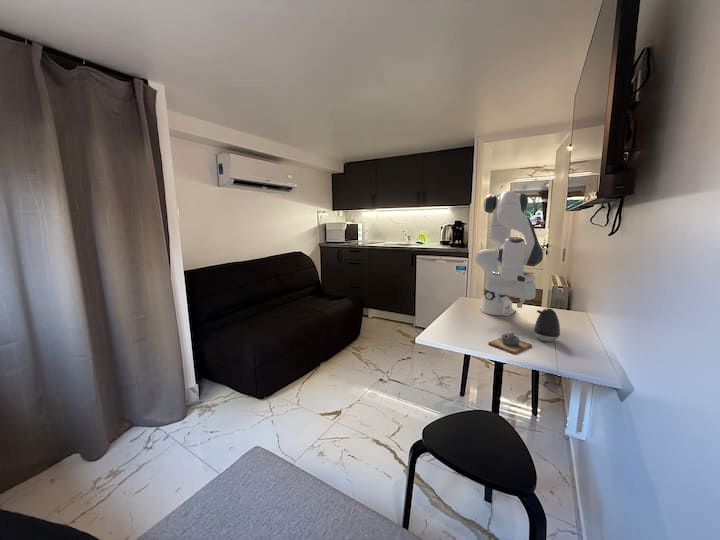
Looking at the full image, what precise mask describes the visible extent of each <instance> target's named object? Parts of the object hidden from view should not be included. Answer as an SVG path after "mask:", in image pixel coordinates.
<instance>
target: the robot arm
mask: <svg viewBox="0 0 720 540" xmlns="http://www.w3.org/2000/svg"><path fill="white" fill-rule="evenodd" d="M528 198H529V197H528V195H527V194H525V193H522V192H519V193H517V192H515V191H512V190H511V191H510V190H509V191H504V192H501V193H489V194H487V195H485V198H484V200H483V203H482V206H483V210H484V212H485V213H488V214H491V220H490V225H489V235H488V236H489V239H490V240H491V242H493V243H495V244H496V245H495V246H496V248H486V249H485V248H484V249H480V250H478V251H477V252H476V254H475V256H474V257H475V258H474V259H475V263H476V264H477V265H478V266H479V267H480V268H481V270H482V271H483V273H484V277H485V281H484V282H485V287H484V290H483V295H482V298H481V303H480V306H479V307H478V308H479V310H480V312H482V314H483V313H484V314H487V315H490V316H491V315H492V316H504V317H505V316H507V317H508V316H509V317H510V315H512V314H513V313H515V312H516V311H517V308H519V309H521V308H523V304H524V303H525V302H526V301H531V300H534V299H535V298H536V293H537V292H536V291H537V287H536V284H535V282H534V281H536V276H534V274H533V275H532V274H531V273H529V272H526V271H524V269H525V267H524V266H526V267H527V266H528V267H536V266H538V265H539V264H540V263H541V262H542V261H543V258H544V251H543V247H542V246H541V244H540V242H539V240H538V237H537V234H536V230H535V228H534V225H533V222H532V220H531V218H530V217H528V216H527V215H525V214H524V212H525V211H526V210H527V207H528V206H529V199H528ZM512 230H515V231H516V232H519V233H521V234H522V235H523V237H524V239H523V238H522V237H517V236H511V233H512ZM499 268H500V271H499ZM508 296H509V297H508ZM510 296H511V297H513V298H519V301H520V302H518V303H516V308H514V307H513V301H512V300H511V299H510Z"/></svg>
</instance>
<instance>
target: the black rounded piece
mask: <svg viewBox="0 0 720 540" xmlns="http://www.w3.org/2000/svg"><path fill="white" fill-rule="evenodd" d="M536 313H538V314H539V315H538V317H537V318H536V320H535V321H536V322H535V325H534V329H533V330H534V333H535V336H536V338H537V339H539V340H540V341H541V342H546V343H552V342H556V341H557V340H558V339H559V337H560V335H561V324H560V320H559V318H558V315H557V313H556V311H555V310H554V309H552V308H544V309H543V310H538V309H537V310H536Z"/></svg>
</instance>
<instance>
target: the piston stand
mask: <svg viewBox="0 0 720 540" xmlns="http://www.w3.org/2000/svg"><path fill="white" fill-rule="evenodd" d="M506 334H507V338H509V339H514V335H515V332H513V331H507V333H506ZM488 345H489V346H491V347H494V348H497V349H499V350H502V351H505V352H507V353H510V354H513V355H515V354H518V353H520V352H522V351H524V350H527V349H529V348H531V347H532V346H533V345H532V343H529V342H526V341H523V340H520V339H519V345H518V346H516V347H515V346H507V345H504V344H502V342H501V337H499V338H496V339H493V340H491V341H489V342H488Z"/></svg>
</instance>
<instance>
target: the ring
mask: <svg viewBox="0 0 720 540" xmlns="http://www.w3.org/2000/svg"><path fill="white" fill-rule="evenodd" d="M500 338H501V342H502V344H504V345H507V346H515V347H516V346H518V345H519V340H520V337H519V336H518V335H515V334H514V339H509V338H507V333H503V334H502V335H501V337H500Z"/></svg>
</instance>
